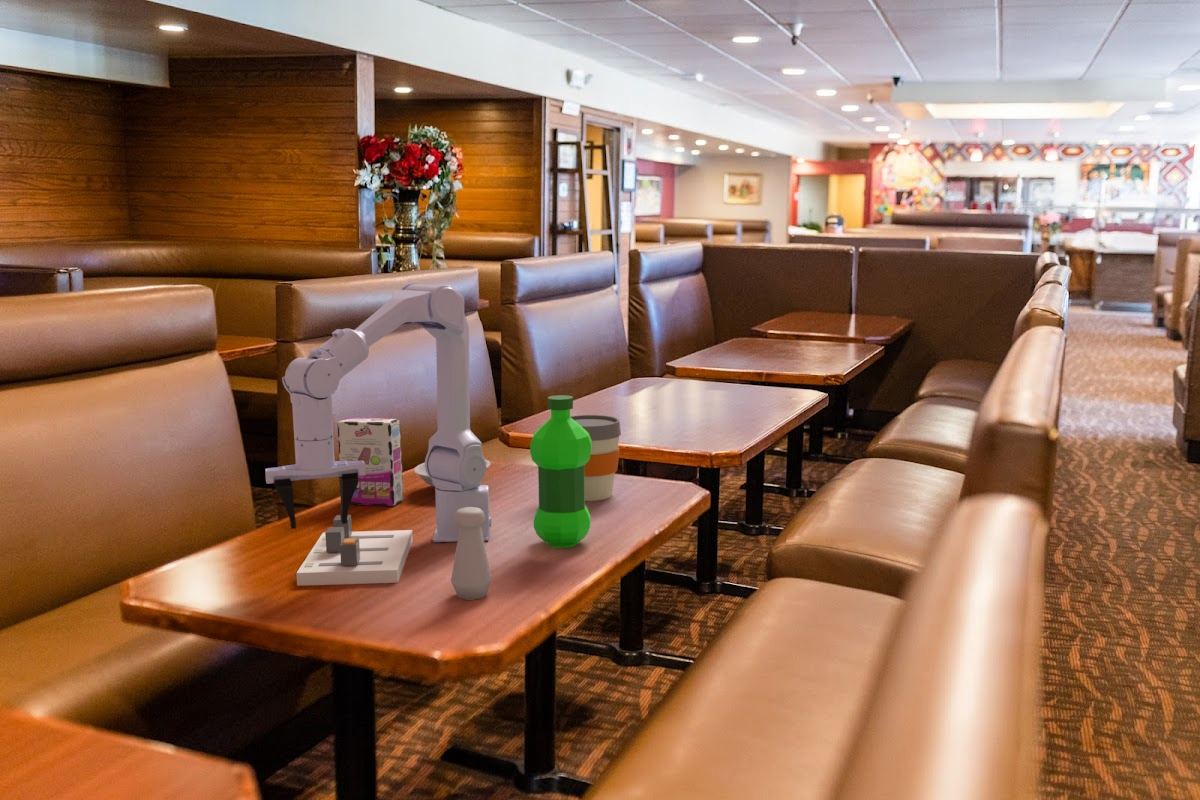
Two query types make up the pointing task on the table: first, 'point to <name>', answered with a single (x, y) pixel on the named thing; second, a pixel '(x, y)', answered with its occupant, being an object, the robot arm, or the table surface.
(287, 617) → the table surface
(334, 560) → the breaker panel
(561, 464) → the plastic bottle
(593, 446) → the reusable coffee cup
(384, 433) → the candy bar box
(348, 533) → the far breaker
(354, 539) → the block
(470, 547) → the salt shaker
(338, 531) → the middle breaker
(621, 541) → the table surface
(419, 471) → the dish
